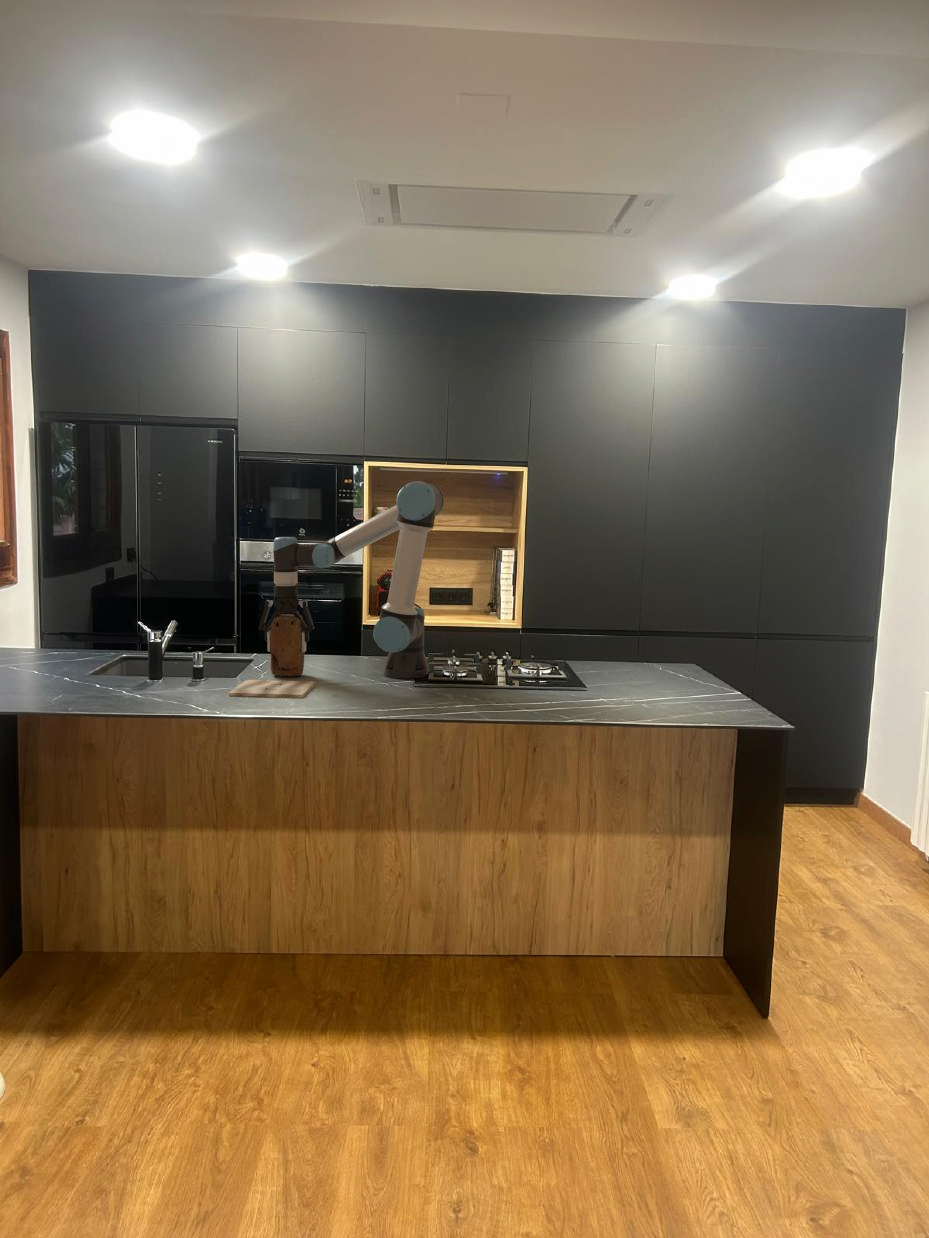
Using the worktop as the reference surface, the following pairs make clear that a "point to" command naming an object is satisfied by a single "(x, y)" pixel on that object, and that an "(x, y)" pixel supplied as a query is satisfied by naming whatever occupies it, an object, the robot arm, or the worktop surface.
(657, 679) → the worktop surface
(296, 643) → the block
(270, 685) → the wooden cutting board
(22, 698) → the worktop surface
